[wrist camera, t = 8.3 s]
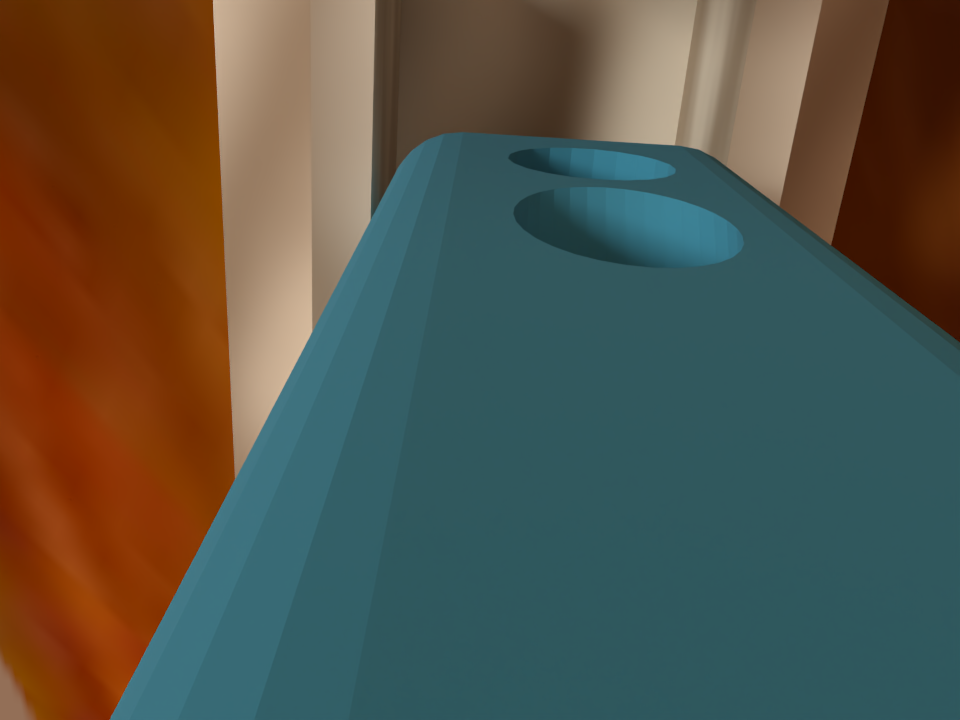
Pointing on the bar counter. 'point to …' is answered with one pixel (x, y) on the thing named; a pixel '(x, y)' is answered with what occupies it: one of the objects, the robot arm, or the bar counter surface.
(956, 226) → the bar counter surface
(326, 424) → the block
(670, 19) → the book stand
